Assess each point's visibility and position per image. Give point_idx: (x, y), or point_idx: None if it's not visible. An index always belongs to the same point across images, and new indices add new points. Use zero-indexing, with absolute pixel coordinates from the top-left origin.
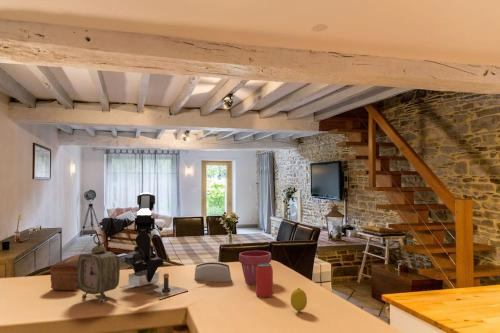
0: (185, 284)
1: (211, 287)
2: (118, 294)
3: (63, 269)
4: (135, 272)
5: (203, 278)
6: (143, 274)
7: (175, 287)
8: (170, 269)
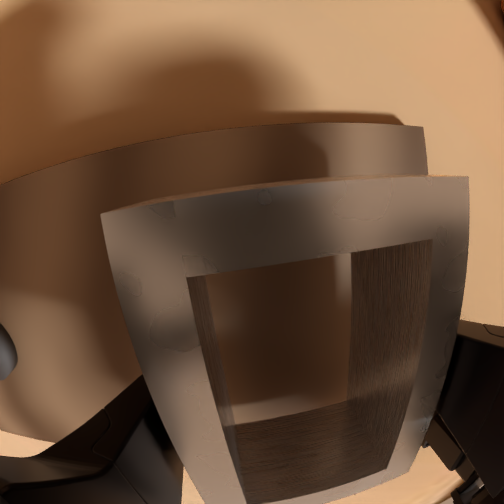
0: None
1: None
2: (270, 31)
3: None
4: (466, 329)
5: None
6: (382, 404)
7: (55, 431)
8: (431, 490)
